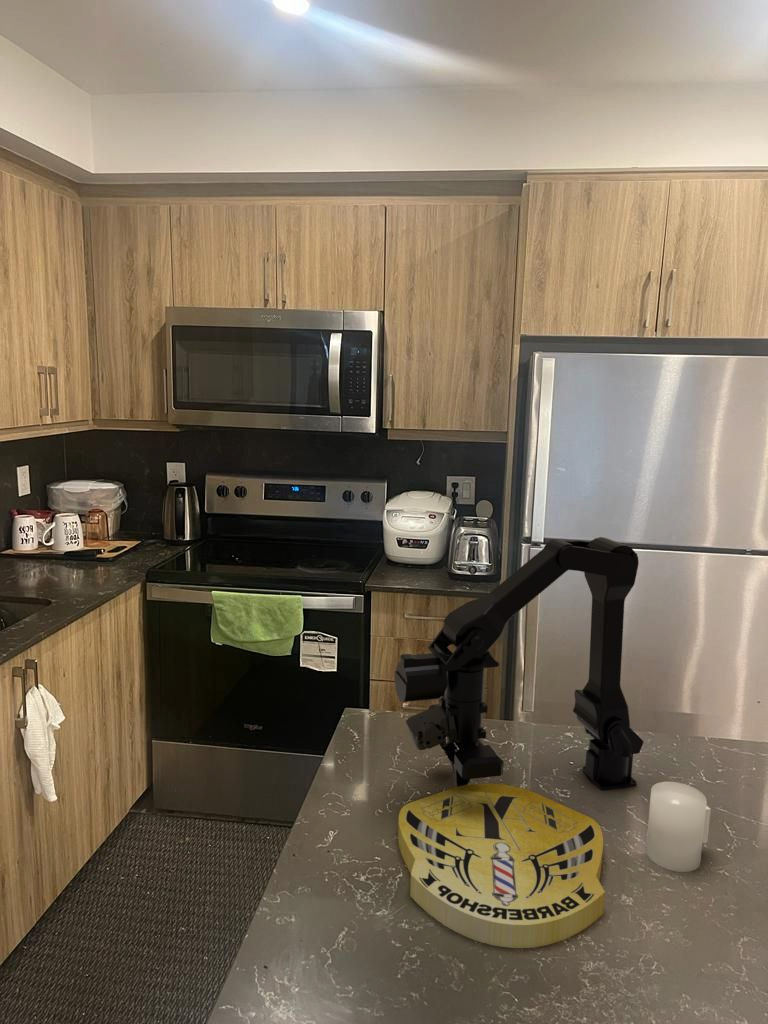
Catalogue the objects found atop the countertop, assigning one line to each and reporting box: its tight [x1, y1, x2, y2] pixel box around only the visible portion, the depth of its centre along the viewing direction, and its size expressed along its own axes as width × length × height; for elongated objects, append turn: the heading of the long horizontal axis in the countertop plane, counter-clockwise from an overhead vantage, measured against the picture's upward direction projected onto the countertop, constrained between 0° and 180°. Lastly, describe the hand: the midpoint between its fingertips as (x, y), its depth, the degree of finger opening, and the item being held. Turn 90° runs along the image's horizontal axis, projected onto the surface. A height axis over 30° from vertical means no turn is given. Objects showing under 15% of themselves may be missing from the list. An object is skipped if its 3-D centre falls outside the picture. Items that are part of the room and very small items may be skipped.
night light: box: [645, 781, 712, 873], centre depth 102 cm, size 8×7×9 cm
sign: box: [397, 782, 606, 949], centre depth 100 cm, size 28×3×30 cm
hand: (459, 789), depth 115 cm, fingers closed
